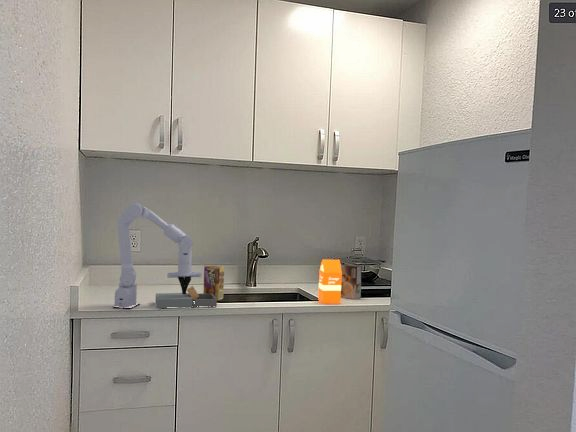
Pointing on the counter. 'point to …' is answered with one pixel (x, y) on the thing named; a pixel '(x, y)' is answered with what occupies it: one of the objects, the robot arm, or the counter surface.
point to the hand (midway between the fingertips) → (184, 293)
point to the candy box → (214, 281)
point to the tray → (205, 300)
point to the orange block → (193, 293)
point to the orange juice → (330, 281)
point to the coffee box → (351, 281)
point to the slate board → (173, 300)
